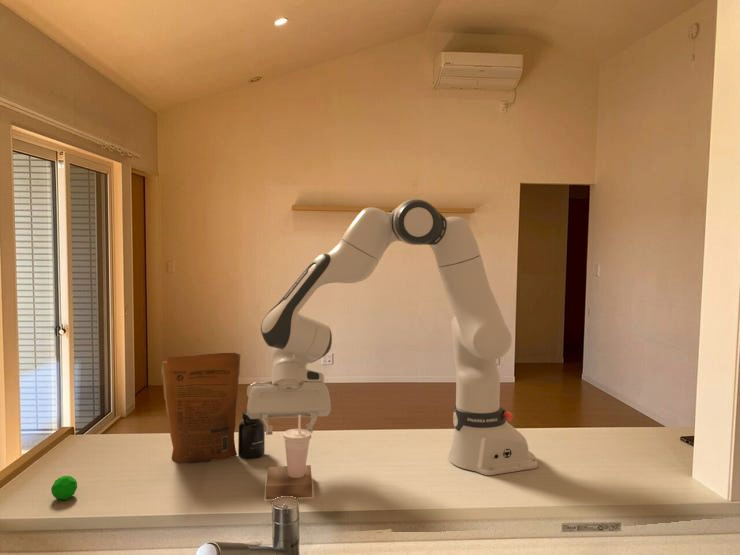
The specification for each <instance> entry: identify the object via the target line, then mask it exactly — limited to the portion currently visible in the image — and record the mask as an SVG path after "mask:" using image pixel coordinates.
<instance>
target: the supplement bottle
mask: <svg viewBox="0 0 740 555" xmlns="http://www.w3.org/2000/svg"><path fill="white" fill-rule="evenodd" d="M241 415H242V416H241V419H242V420H240V422H239V423H238V427H237V428H238V429H237V431H238V432H237V433H238V434H237V436H238V437H237V438H238V439H237V440H238V441H237V446H238V447H237V448H238V449H237V451H238V452H237V455H238V457H239V458H240V459H243V460H256V459H258V458H262V457H263V456H264V455H265V447H266V446H265V444H266V443H265V442H266V441H265V438H266V437H265V436H266V428H265V426H264V425H263V423H262V419H250V418H249V417H248V415H247V408H246V409H244V410H242V412H241Z"/></svg>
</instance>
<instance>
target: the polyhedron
mask: <svg viewBox="0 0 740 555" xmlns="http://www.w3.org/2000/svg"><path fill="white" fill-rule="evenodd" d="M77 489H78V482H77V479H75V478H74V477H73V476H70V475H62V476H59V477H58V478H57V479H55V480H54V482H53V484H52V486H51V489H50V490H51V495H52V497H54V498H55V499H56V500H59V501H61V500H62V501H63V500H64V501H66V500H68V499H70V498H71V497H73V496H74V495H75V493H76V490H77Z"/></svg>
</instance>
